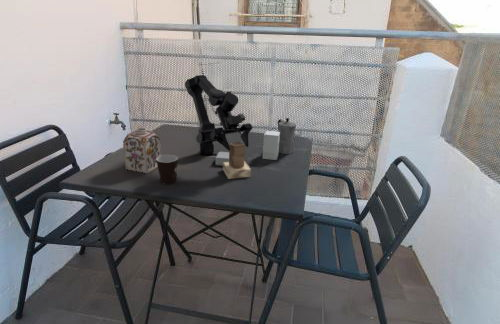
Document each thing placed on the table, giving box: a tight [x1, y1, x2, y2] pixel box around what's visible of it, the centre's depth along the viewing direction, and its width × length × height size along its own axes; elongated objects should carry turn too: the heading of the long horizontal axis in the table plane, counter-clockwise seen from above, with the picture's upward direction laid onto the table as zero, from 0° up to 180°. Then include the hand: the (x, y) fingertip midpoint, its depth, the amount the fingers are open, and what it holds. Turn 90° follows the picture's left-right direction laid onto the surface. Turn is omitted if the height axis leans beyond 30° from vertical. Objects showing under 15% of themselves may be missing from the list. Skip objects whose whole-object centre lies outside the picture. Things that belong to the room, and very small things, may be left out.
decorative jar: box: [122, 127, 163, 174], centre depth 148 cm, size 12×12×18 cm
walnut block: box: [228, 141, 246, 169], centre depth 145 cm, size 4×5×10 cm
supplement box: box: [262, 130, 280, 161], centre depth 166 cm, size 7×7×13 cm
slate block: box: [215, 151, 229, 166], centre depth 159 cm, size 8×8×4 cm
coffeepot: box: [277, 117, 297, 155], centre depth 174 cm, size 15×9×18 cm, turn 26°
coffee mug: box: [156, 154, 179, 185], centre depth 138 cm, size 12×9×10 cm
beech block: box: [222, 160, 252, 180], centre depth 148 cm, size 10×10×4 cm
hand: (238, 148), depth 143 cm, fingers open, 9 cm apart
